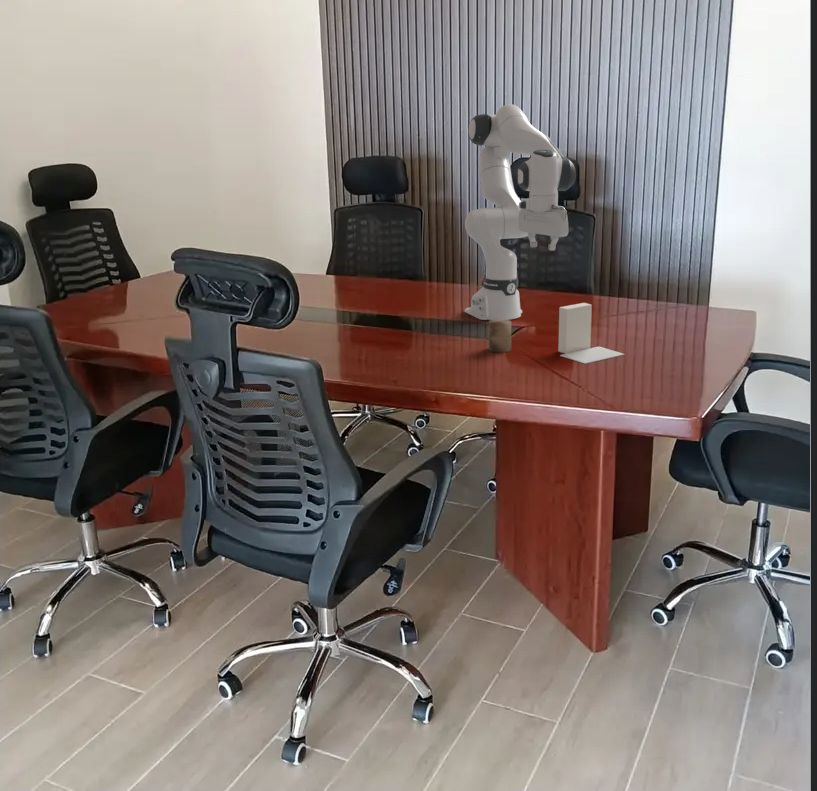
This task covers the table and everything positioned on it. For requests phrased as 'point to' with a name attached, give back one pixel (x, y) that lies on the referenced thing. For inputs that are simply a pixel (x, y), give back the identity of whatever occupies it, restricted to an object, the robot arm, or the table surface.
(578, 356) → the felt mat
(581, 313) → the card box
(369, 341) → the table surface
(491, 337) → the tan cardboard tube
